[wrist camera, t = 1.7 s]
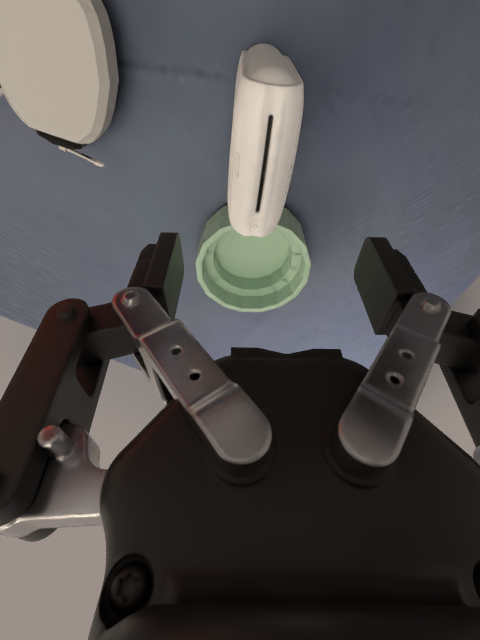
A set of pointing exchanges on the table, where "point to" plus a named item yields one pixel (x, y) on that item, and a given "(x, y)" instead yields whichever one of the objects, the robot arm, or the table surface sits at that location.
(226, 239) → the bowl
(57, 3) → the robot toy
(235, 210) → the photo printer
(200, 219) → the table surface
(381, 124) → the table surface
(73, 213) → the table surface
